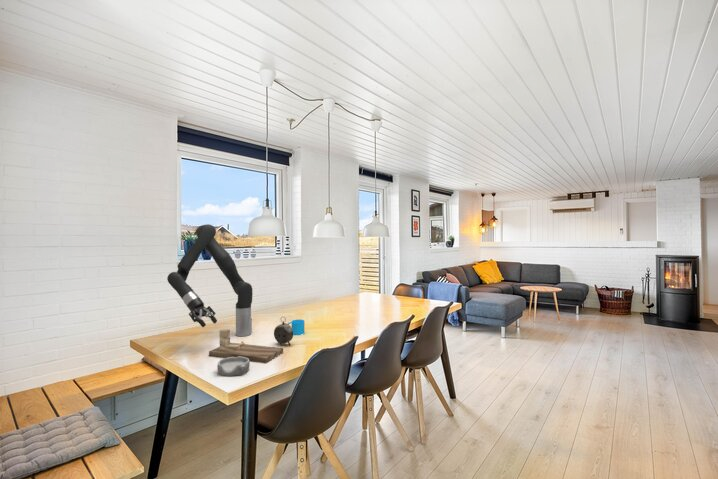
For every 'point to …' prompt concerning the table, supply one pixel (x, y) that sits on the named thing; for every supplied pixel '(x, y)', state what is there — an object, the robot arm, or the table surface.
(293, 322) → the mug
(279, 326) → the alarm clock
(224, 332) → the marking gauge
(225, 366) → the dish
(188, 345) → the table surface
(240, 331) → the robot arm
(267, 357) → the walnut board
